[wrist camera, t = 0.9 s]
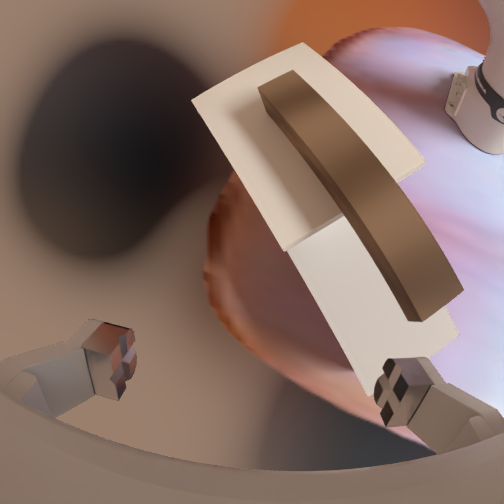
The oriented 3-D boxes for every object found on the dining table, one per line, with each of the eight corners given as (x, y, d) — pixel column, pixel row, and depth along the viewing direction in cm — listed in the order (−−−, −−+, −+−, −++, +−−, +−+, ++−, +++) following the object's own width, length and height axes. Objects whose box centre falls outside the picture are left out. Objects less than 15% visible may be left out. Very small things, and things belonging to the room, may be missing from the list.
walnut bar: (266, 112, 21) (257, 87, 18) (298, 95, 21) (292, 69, 18) (408, 321, 16) (422, 322, 13) (444, 294, 15) (464, 290, 12)
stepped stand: (261, 206, 50) (191, 100, 24) (321, 171, 49) (302, 42, 22) (356, 371, 40) (390, 446, 14) (421, 330, 39) (525, 341, 13)
